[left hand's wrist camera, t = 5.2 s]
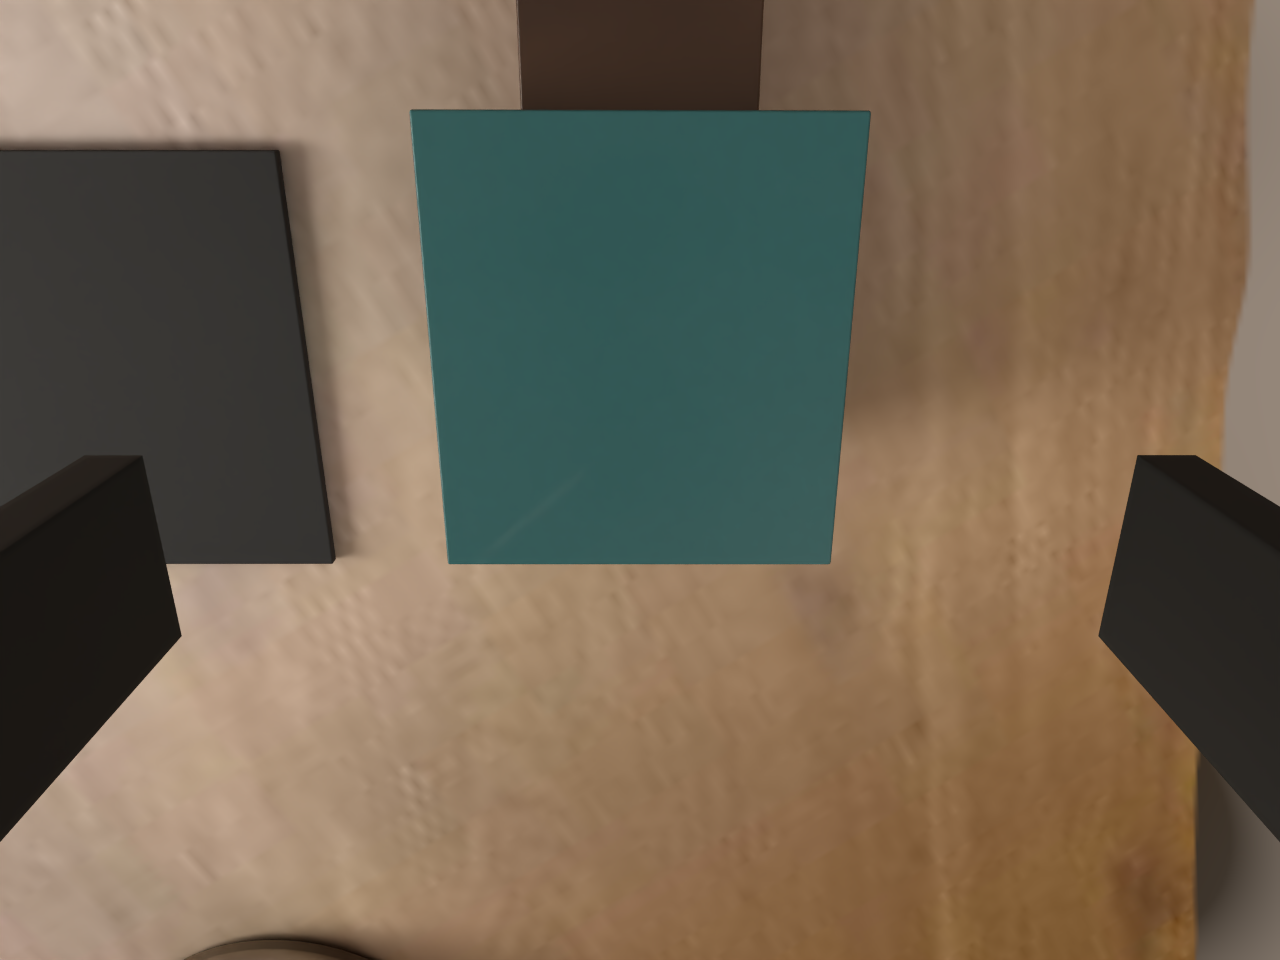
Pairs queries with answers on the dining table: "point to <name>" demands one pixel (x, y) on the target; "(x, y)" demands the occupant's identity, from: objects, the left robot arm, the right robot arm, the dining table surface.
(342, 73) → the dining table surface
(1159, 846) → the dining table surface
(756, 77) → the walnut case
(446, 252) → the teal flat block
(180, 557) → the rubber mat
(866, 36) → the dining table surface
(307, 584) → the dining table surface
